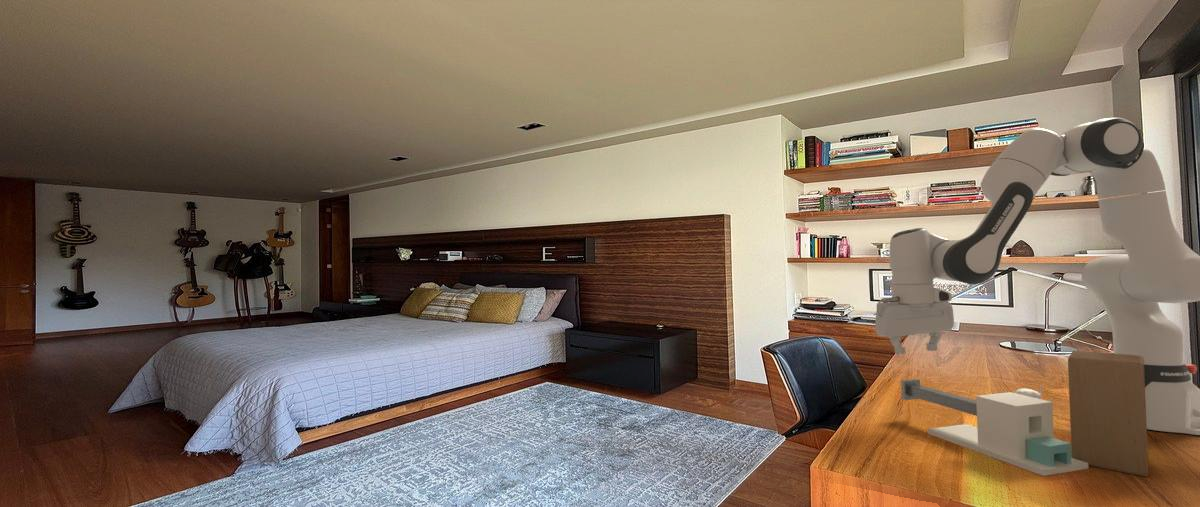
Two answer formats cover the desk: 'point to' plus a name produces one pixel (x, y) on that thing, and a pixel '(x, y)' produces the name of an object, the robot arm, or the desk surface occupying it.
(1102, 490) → the desk surface
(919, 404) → the desk surface
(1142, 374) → the wooden block
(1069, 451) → the block
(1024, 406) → the bearing block
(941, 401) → the shaft
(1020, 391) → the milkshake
